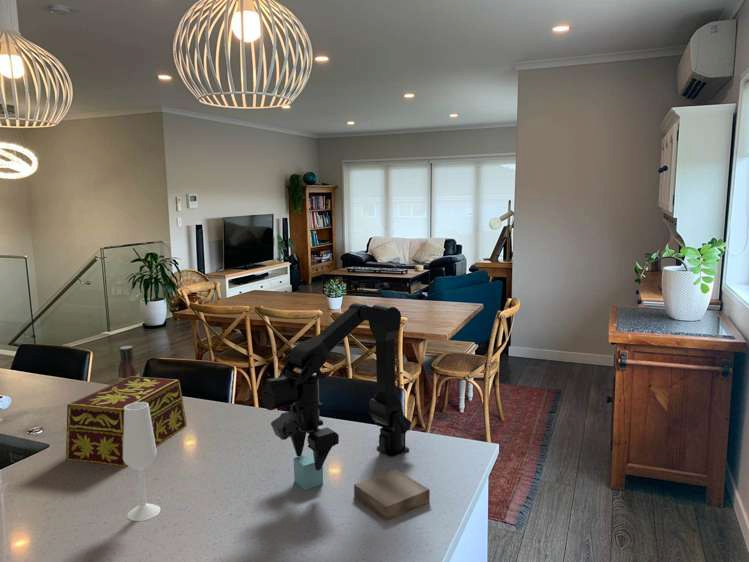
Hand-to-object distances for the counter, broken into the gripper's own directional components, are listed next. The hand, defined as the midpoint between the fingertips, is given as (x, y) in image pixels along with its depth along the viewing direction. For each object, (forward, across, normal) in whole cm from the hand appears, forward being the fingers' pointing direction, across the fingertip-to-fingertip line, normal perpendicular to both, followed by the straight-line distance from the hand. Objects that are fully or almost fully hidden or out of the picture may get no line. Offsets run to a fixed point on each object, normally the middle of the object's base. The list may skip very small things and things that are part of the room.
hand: (308, 462), depth 133 cm
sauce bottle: (+5, -82, -21) cm, 85 cm away
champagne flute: (+5, -10, -35) cm, 37 cm away
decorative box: (+5, -51, -28) cm, 59 cm away
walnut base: (+5, +18, +11) cm, 22 cm away
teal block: (+5, 0, 0) cm, 5 cm away
